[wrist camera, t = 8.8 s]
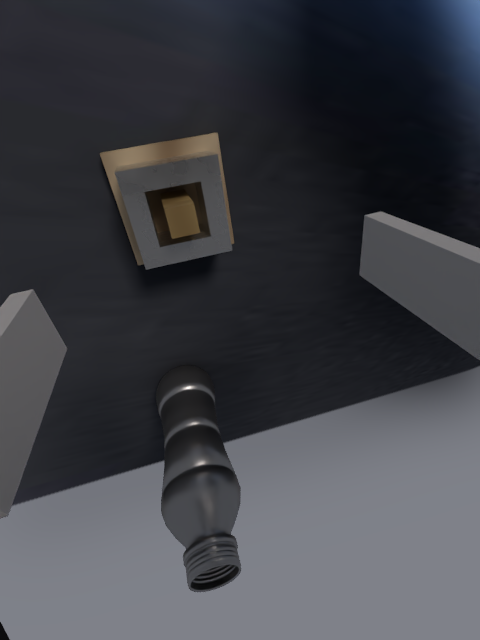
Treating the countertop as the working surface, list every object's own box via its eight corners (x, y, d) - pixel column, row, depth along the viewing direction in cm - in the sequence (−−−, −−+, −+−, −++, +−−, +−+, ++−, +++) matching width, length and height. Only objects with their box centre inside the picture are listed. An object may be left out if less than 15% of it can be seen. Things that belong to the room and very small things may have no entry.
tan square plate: (214, 132, 25) (236, 134, 19) (231, 240, 30) (253, 266, 24) (101, 152, 24) (88, 160, 18) (138, 261, 29) (137, 294, 23)
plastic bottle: (221, 374, 39) (280, 558, 22) (182, 407, 40) (211, 605, 23) (183, 348, 35) (220, 542, 19) (142, 385, 36) (142, 599, 20)
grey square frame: (207, 150, 25) (217, 154, 22) (221, 236, 29) (232, 250, 25) (118, 165, 24) (114, 172, 20) (145, 252, 28) (145, 269, 24)
